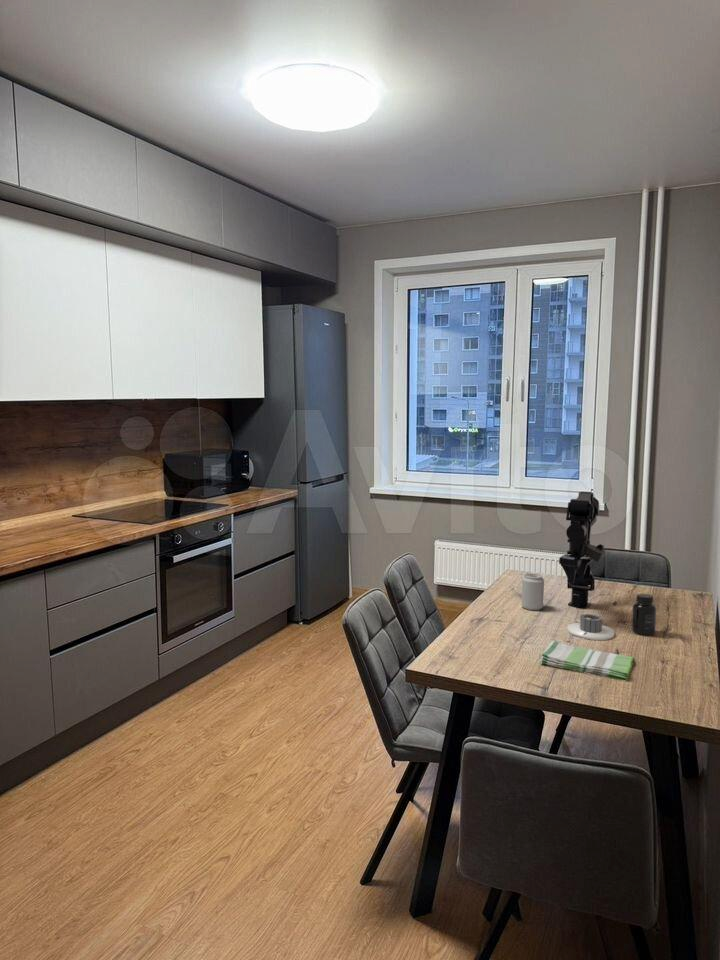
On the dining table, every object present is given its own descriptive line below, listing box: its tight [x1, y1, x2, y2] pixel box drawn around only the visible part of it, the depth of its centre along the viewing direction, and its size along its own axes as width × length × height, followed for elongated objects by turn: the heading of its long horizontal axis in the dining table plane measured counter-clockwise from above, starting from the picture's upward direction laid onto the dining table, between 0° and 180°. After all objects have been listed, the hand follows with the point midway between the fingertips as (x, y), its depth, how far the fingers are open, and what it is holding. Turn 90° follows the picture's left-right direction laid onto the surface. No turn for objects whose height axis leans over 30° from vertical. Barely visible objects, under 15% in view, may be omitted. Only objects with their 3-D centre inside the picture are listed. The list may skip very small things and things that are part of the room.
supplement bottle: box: [631, 593, 657, 636], centre depth 206 cm, size 7×7×12 cm
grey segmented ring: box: [579, 613, 603, 633], centre depth 206 cm, size 6×6×4 cm
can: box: [521, 572, 545, 611], centre depth 231 cm, size 8×8×12 cm
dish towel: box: [539, 640, 635, 682], centre depth 182 cm, size 17×23×4 cm
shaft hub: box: [567, 621, 615, 641], centre depth 206 cm, size 14×14×4 cm
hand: (576, 581), depth 222 cm, fingers open, 9 cm apart
